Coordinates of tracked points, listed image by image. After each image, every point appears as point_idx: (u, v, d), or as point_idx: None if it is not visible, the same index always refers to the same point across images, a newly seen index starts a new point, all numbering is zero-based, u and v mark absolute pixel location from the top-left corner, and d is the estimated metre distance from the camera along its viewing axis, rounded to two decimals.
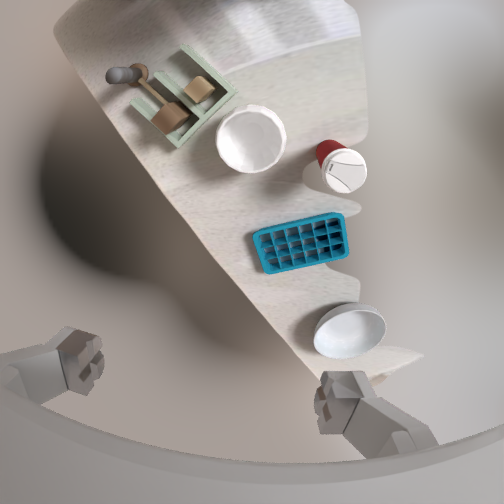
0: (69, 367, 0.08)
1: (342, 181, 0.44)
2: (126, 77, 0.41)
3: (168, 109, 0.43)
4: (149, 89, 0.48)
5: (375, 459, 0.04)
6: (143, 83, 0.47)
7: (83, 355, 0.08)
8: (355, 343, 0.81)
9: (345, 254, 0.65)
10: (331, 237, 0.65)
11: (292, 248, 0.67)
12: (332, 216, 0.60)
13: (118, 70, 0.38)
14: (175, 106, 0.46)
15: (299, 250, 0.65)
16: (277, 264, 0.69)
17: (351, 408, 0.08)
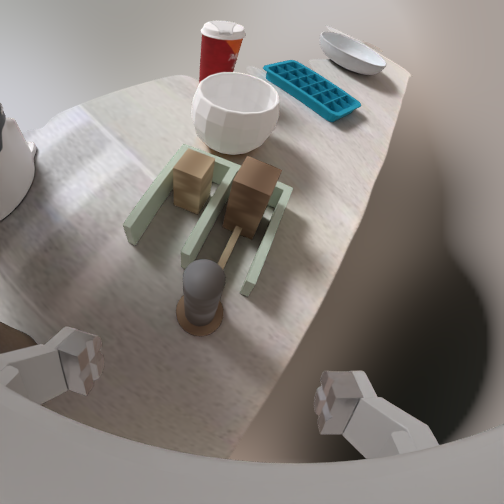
0: (69, 367, 0.08)
1: (232, 26, 0.38)
2: None
3: (239, 173, 0.29)
4: None
5: (375, 459, 0.04)
6: None
7: (82, 355, 0.08)
8: (358, 53, 0.72)
9: (294, 61, 0.57)
10: None
11: None
12: (270, 71, 0.52)
13: (189, 268, 0.22)
14: None
15: (319, 87, 0.54)
16: None
17: (351, 408, 0.08)
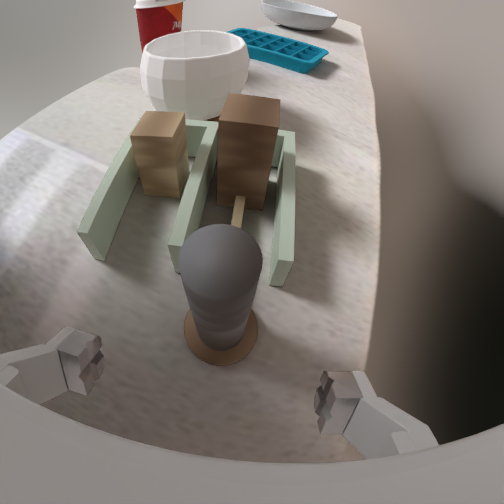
0: (69, 367, 0.08)
1: None
2: None
3: (225, 111, 0.18)
4: None
5: (375, 459, 0.04)
6: None
7: (82, 355, 0.08)
8: None
9: (242, 28, 0.48)
10: None
11: None
12: None
13: (186, 248, 0.11)
14: None
15: (278, 44, 0.45)
16: None
17: (351, 408, 0.08)
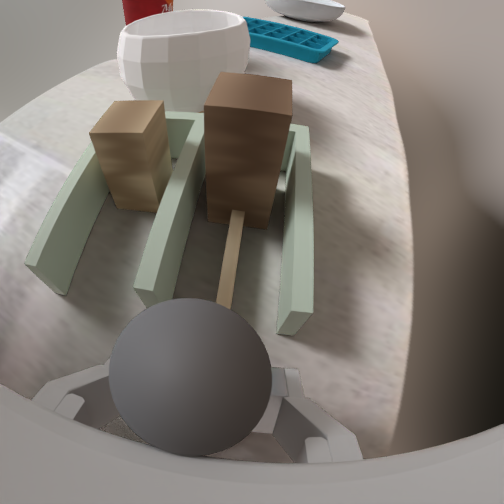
0: None
1: None
2: None
3: (214, 93, 0.12)
4: (225, 303, 0.15)
5: (375, 459, 0.04)
6: None
7: None
8: None
9: None
10: None
11: None
12: None
13: (123, 351, 0.05)
14: None
15: (283, 32, 0.39)
16: None
17: (276, 407, 0.08)
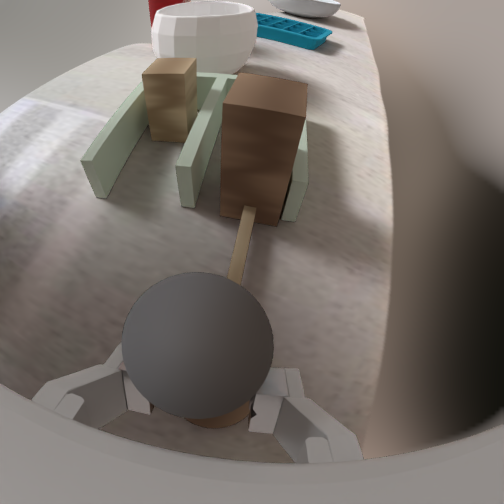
0: (133, 387, 0.08)
1: None
2: None
3: (233, 92, 0.13)
4: None
5: (375, 459, 0.04)
6: None
7: None
8: None
9: None
10: None
11: None
12: None
13: (138, 317, 0.06)
14: None
15: (283, 25, 0.44)
16: None
17: (276, 407, 0.08)
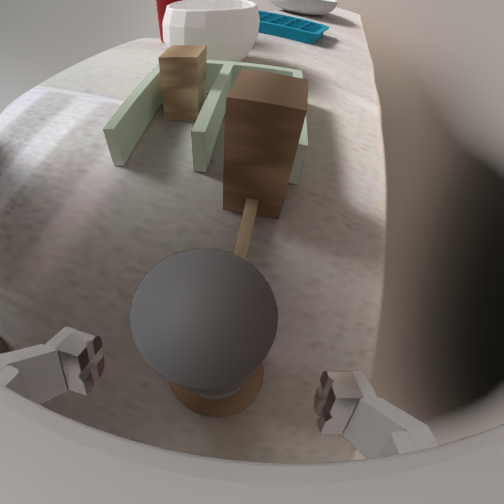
0: (69, 367, 0.08)
1: None
2: None
3: (236, 87, 0.13)
4: None
5: (375, 459, 0.04)
6: None
7: (83, 355, 0.08)
8: None
9: None
10: None
11: None
12: None
13: (146, 290, 0.06)
14: None
15: (282, 21, 0.46)
16: None
17: (351, 408, 0.08)
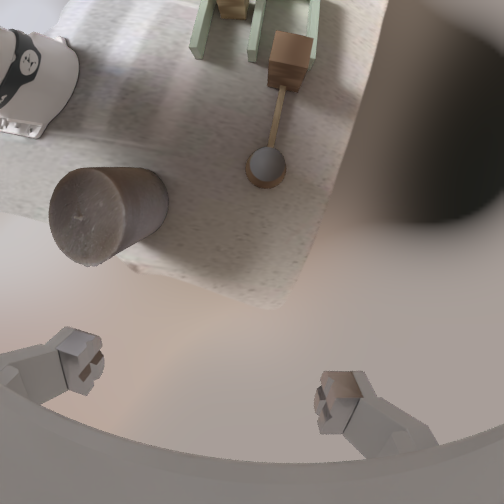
0: (69, 367, 0.08)
1: None
2: None
3: (273, 51, 0.24)
4: (274, 130, 0.33)
5: (375, 459, 0.04)
6: (270, 145, 0.34)
7: (82, 355, 0.08)
8: None
9: None
10: None
11: None
12: None
13: (253, 158, 0.26)
14: None
15: None
16: None
17: (351, 408, 0.08)
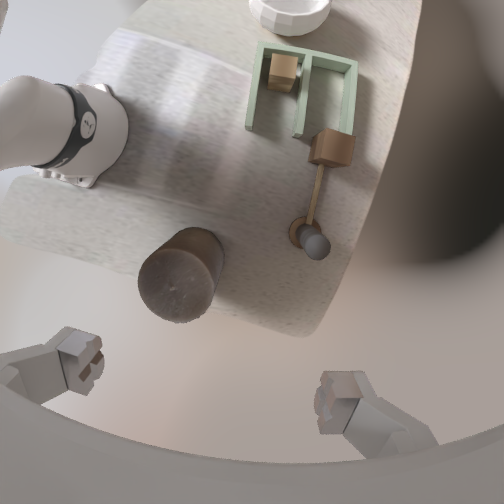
0: (69, 367, 0.08)
1: None
2: (312, 231, 0.38)
3: (324, 149, 0.34)
4: (314, 203, 0.43)
5: (375, 459, 0.04)
6: (311, 215, 0.44)
7: (82, 355, 0.08)
8: None
9: None
10: None
11: None
12: None
13: (308, 243, 0.36)
14: (316, 151, 0.37)
15: None
16: None
17: (351, 408, 0.08)
